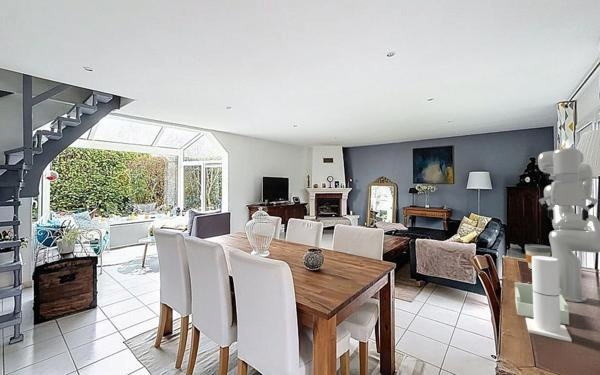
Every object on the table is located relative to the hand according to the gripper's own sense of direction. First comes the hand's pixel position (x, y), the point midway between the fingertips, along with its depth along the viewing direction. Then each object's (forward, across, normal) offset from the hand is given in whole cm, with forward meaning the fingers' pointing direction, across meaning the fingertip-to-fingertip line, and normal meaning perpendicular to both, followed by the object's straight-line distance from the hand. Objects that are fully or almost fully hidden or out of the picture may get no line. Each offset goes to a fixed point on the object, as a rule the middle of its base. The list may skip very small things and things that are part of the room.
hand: (567, 219), depth 110 cm
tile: (+38, -10, -23) cm, 46 cm away
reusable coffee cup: (+39, -3, +69) cm, 79 cm away
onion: (+39, -12, +10) cm, 42 cm away
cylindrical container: (+38, -10, -23) cm, 45 cm away
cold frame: (+38, -10, -6) cm, 40 cm away
